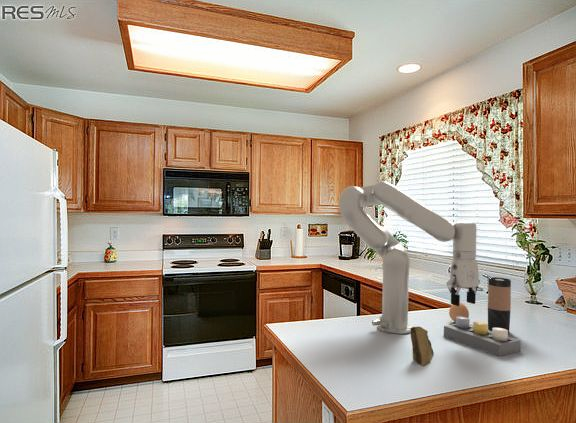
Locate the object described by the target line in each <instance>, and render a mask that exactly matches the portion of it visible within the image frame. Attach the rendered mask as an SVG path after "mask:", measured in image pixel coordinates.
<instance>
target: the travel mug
mask: <svg viewBox="0 0 576 423" xmlns="http://www.w3.org/2000/svg"><path fill="white" fill-rule="evenodd" d="M511 286H512V280H511V279H509V278H505V277H498V276H497V277H496V276H495V277H491V278H489V277H488V290H487V292H488V293H487V294H488V295H487V324H488V330H490V331H492V328H503V329H506V330H508V334H509V333H510V326H511V324H510V323H511V304H512V303H511V298H512V297H511V293H512V292H511V290H512V289H511V288H512V287H511Z"/></svg>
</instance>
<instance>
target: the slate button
mask: <svg viewBox="0 0 576 423" xmlns="http://www.w3.org/2000/svg"><path fill="white" fill-rule="evenodd" d="M455 324H456V327H458V328H461V329H469V324H470V318H466V317H456V322H455Z"/></svg>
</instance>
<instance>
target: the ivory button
mask: <svg viewBox="0 0 576 423" xmlns="http://www.w3.org/2000/svg"><path fill="white" fill-rule="evenodd" d="M508 336H509V333H508V330H506V329H503V328H492V339H494V340H496V341H501V342H507V341H508Z"/></svg>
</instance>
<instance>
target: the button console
mask: <svg viewBox="0 0 576 423" xmlns="http://www.w3.org/2000/svg"><path fill="white" fill-rule="evenodd" d="M443 337H446V338H449V339H450V340H451V339H452V340H455V341H456V342H460V343H462V344H464V345H468V346H470V347H473V348H476V349H479V350H481V351H484V352H487V353H489V354H492V355H495V356H497V357H503V356H507V355H510V354H515V353H519V352H521V350H522V349H521V347H522V346H521V345H522V340H521V339H518V338H515V337H511V336H509V335H508V341H507V342H501V341H496V340H494V339H492V331H490V330H488V334H487V335H479V334H475V333H474V332H473V324H470V323H469V329H461V328H458V327H456V323H453V324H447V325H443Z"/></svg>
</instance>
